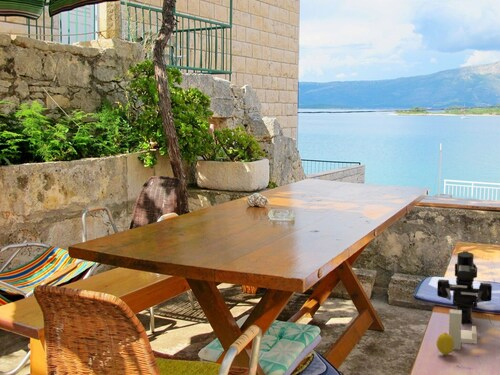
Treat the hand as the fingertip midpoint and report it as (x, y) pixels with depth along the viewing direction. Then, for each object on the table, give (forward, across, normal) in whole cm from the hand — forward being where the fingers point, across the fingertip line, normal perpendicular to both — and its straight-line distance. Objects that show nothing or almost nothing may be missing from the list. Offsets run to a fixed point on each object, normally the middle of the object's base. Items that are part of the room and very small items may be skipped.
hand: (463, 300), depth 212 cm
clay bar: (+6, -2, +16) cm, 17 cm away
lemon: (+14, -5, +15) cm, 21 cm away
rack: (-4, 0, +17) cm, 17 cm away
